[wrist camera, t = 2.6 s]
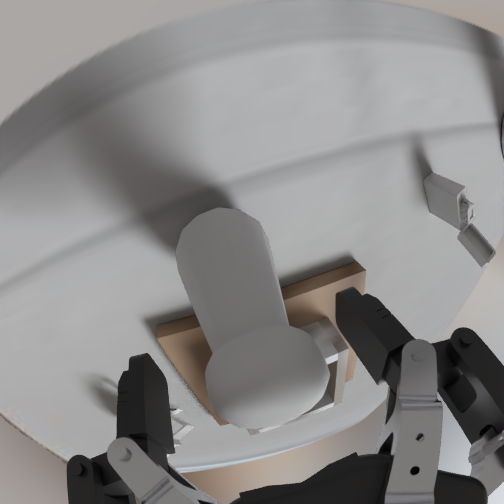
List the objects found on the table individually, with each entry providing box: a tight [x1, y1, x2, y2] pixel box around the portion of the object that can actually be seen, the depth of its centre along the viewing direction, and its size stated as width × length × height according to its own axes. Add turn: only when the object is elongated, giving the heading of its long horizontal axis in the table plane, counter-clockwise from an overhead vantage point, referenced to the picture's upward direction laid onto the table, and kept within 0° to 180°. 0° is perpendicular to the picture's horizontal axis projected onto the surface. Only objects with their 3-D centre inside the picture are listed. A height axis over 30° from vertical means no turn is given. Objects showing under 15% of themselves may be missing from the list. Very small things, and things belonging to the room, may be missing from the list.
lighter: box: [423, 172, 496, 268], centre depth 19 cm, size 7×2×8 cm, turn 35°
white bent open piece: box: [167, 409, 194, 458], centre depth 25 cm, size 12×8×5 cm
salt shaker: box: [175, 207, 330, 429], centre depth 13 cm, size 6×6×13 cm
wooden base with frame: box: [156, 261, 366, 435], centre depth 24 cm, size 18×18×6 cm
